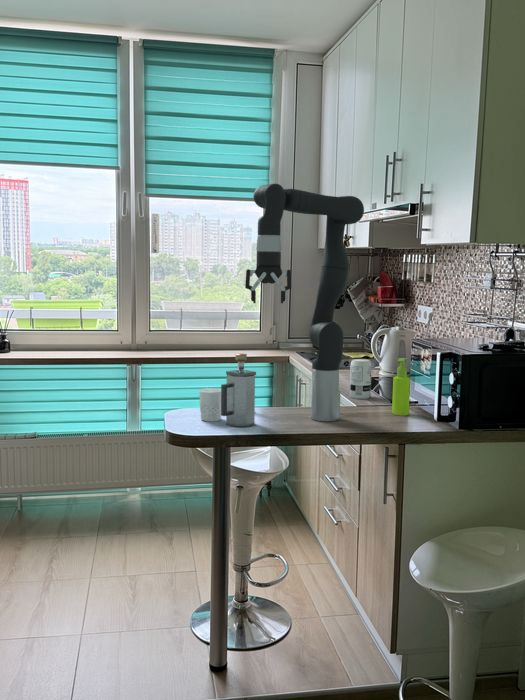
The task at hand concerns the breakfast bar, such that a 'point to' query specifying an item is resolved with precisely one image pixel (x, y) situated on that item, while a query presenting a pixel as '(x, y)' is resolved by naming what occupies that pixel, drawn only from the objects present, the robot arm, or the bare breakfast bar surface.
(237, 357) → the plunger
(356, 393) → the supplement can
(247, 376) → the carafe
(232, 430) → the breakfast bar surface
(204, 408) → the white cup
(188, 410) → the breakfast bar surface
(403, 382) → the soap dispenser
